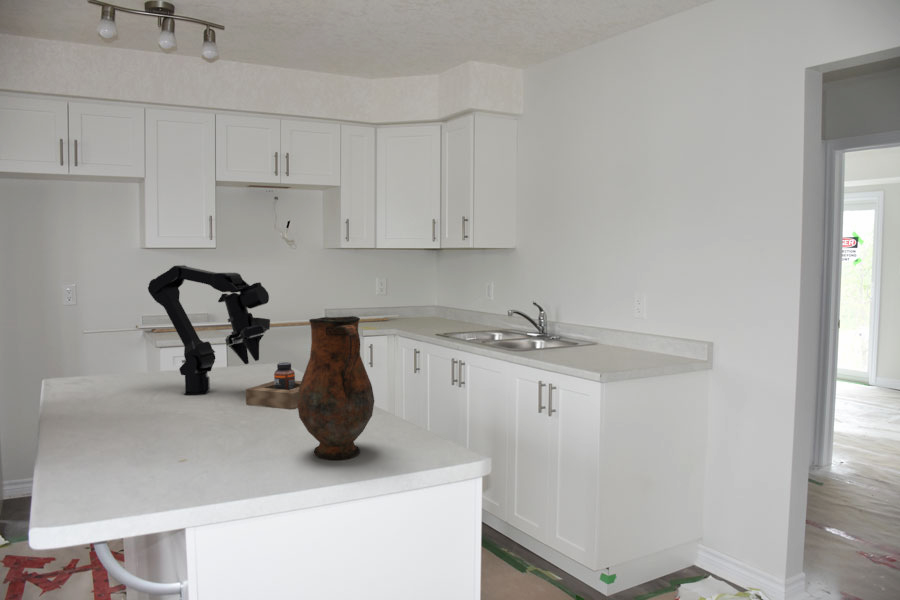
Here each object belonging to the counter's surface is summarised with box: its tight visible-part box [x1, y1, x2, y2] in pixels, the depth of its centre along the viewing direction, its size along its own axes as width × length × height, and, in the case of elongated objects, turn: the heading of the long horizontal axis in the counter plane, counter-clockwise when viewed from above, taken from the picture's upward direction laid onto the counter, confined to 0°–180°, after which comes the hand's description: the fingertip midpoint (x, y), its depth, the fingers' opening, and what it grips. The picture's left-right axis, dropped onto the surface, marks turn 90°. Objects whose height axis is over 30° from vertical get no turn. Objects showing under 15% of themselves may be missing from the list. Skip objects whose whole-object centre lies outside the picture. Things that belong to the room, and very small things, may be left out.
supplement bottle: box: [273, 361, 296, 390], centre depth 199 cm, size 6×6×11 cm
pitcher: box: [297, 315, 375, 461], centre depth 145 cm, size 17×21×30 cm
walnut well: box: [245, 380, 302, 410], centre depth 199 cm, size 16×16×4 cm
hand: (252, 362), depth 204 cm, fingers open, 9 cm apart
